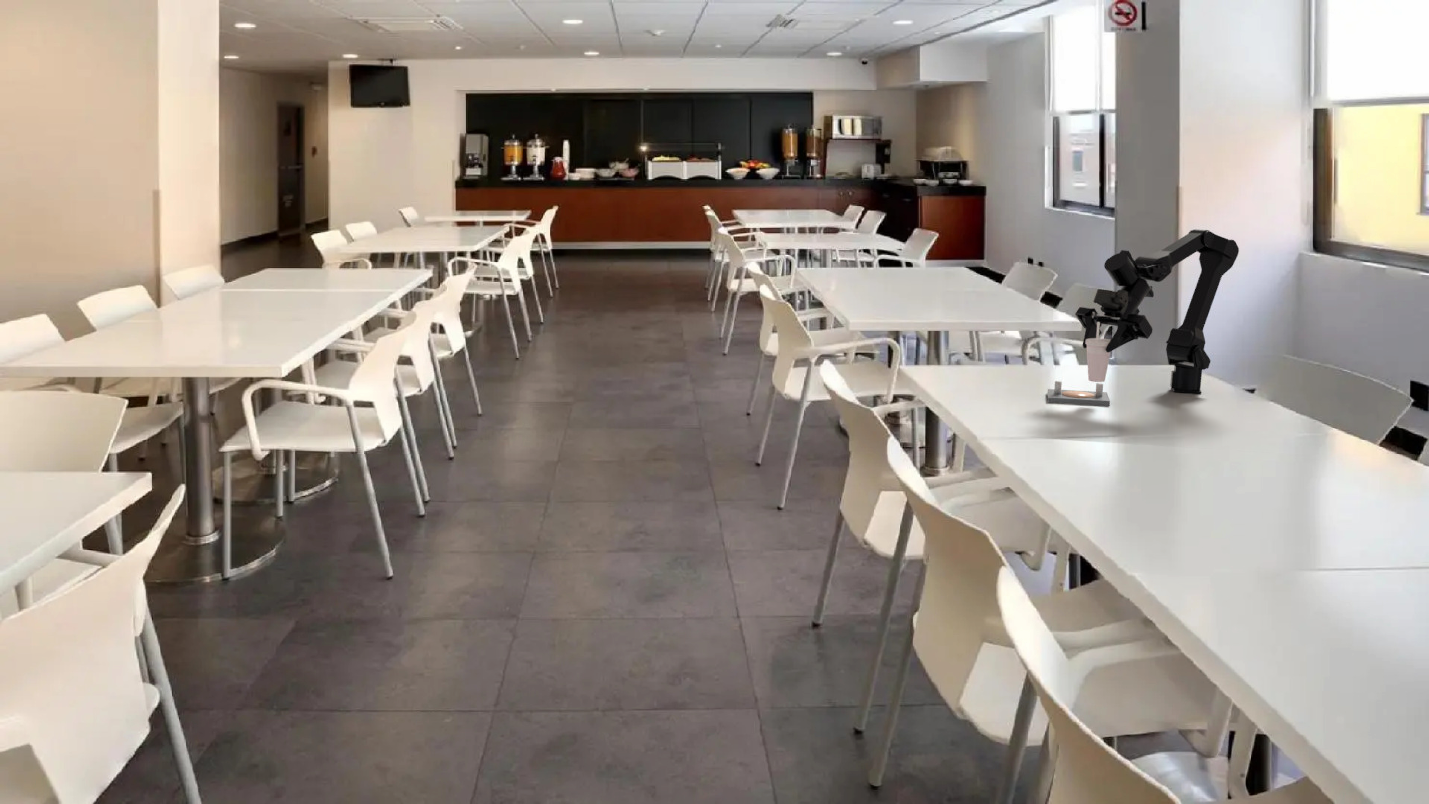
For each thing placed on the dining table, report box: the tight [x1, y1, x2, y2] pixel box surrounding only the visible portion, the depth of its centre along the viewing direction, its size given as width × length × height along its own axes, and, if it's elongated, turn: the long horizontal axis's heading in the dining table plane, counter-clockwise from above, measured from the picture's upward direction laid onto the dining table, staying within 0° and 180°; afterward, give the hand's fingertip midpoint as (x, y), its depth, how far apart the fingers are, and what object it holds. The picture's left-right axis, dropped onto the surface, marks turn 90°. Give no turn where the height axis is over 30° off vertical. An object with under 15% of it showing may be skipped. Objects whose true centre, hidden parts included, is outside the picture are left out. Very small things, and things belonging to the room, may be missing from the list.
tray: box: [1046, 380, 1111, 407], centre depth 294 cm, size 14×11×4 cm
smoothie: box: [1085, 322, 1112, 383], centre depth 288 cm, size 6×6×14 cm
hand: (1095, 349), depth 287 cm, fingers closed on smoothie, 6 cm apart
